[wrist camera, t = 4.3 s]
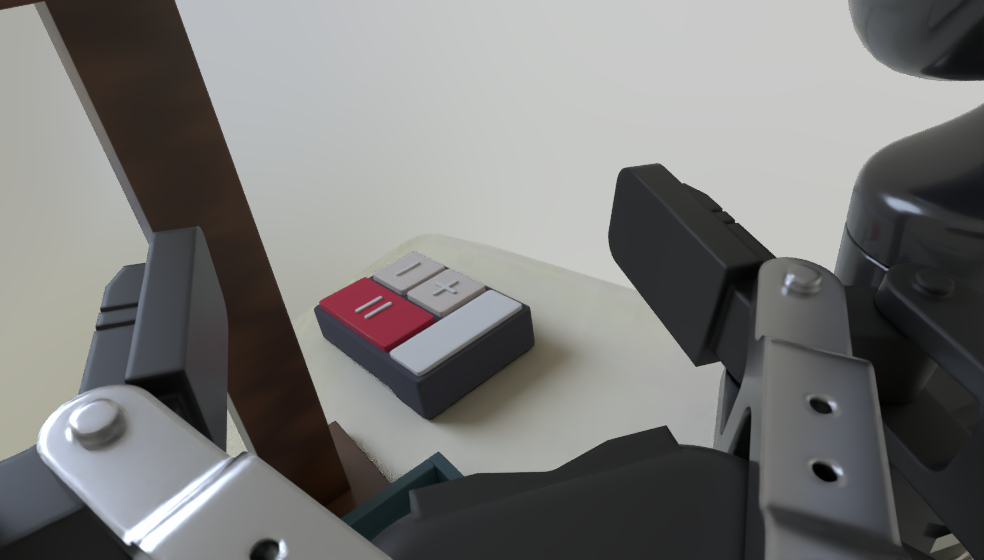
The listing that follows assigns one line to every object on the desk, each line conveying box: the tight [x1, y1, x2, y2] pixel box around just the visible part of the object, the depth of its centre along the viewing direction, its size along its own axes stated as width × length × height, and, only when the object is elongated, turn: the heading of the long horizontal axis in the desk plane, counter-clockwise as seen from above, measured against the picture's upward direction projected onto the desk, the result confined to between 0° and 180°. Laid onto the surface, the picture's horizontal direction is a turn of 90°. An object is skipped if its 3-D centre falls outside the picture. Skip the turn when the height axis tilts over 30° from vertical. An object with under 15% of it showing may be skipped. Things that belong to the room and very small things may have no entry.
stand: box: [0, 0, 390, 519], centre depth 30 cm, size 9×11×33 cm
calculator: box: [314, 252, 535, 419], centre depth 51 cm, size 11×4×15 cm
